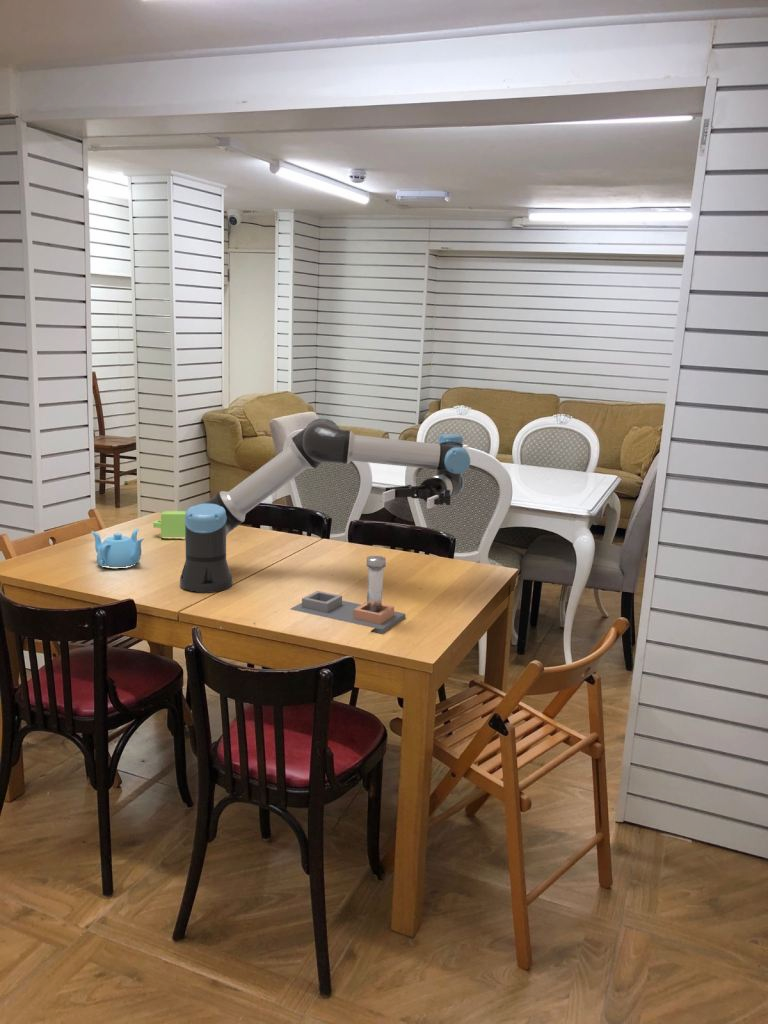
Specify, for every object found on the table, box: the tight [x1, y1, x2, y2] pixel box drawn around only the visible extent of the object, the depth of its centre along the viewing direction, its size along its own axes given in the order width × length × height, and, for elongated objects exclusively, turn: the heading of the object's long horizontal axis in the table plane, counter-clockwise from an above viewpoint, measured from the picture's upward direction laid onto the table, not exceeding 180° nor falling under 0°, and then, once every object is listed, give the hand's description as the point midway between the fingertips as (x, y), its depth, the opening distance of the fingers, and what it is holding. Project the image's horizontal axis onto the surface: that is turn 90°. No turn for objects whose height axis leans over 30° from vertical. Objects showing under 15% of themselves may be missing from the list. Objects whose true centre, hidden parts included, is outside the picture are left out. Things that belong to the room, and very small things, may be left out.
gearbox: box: [152, 510, 187, 538], centre depth 284 cm, size 18×10×10 cm, turn 102°
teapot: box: [91, 528, 145, 567], centre depth 246 cm, size 15×15×10 cm
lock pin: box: [366, 555, 387, 613], centre depth 205 cm, size 5×5×16 cm
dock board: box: [290, 590, 406, 635], centre depth 210 cm, size 28×14×4 cm, turn 63°
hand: (405, 500), depth 215 cm, fingers open, 13 cm apart
